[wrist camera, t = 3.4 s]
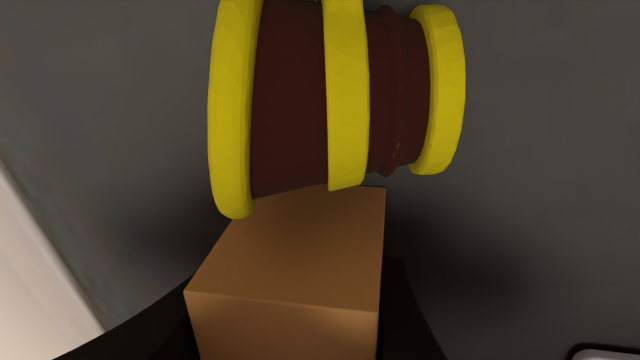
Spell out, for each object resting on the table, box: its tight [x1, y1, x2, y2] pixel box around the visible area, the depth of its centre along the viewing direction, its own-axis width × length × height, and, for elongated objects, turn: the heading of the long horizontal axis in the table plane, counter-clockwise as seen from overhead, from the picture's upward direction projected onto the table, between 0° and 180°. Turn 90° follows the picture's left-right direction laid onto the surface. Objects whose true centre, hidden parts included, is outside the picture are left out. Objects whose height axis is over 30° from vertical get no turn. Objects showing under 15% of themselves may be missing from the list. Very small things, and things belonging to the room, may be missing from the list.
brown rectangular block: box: [184, 184, 386, 360], centre depth 11 cm, size 5×4×5 cm
